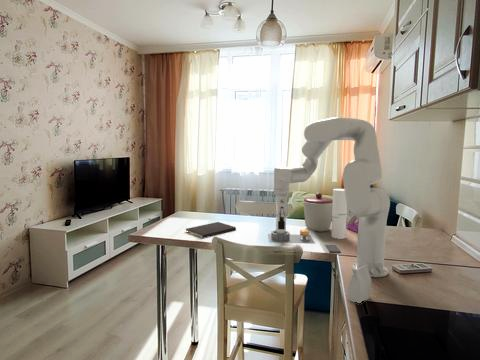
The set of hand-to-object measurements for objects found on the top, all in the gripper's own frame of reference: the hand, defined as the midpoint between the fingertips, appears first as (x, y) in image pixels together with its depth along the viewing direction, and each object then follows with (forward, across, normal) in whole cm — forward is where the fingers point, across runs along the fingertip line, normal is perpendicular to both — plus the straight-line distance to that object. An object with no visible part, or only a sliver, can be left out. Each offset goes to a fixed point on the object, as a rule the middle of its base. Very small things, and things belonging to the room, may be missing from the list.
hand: (280, 227), depth 152 cm
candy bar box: (+7, +21, -44) cm, 49 cm away
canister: (+7, +22, -23) cm, 33 cm away
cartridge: (+5, 0, 0) cm, 5 cm away
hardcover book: (+7, +14, +37) cm, 41 cm away
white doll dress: (+7, -58, -20) cm, 62 cm away
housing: (+7, 0, -5) cm, 8 cm away
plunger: (+6, 0, -12) cm, 13 cm away
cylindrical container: (+7, +8, -31) cm, 33 cm away
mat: (+7, -12, -21) cm, 25 cm away
